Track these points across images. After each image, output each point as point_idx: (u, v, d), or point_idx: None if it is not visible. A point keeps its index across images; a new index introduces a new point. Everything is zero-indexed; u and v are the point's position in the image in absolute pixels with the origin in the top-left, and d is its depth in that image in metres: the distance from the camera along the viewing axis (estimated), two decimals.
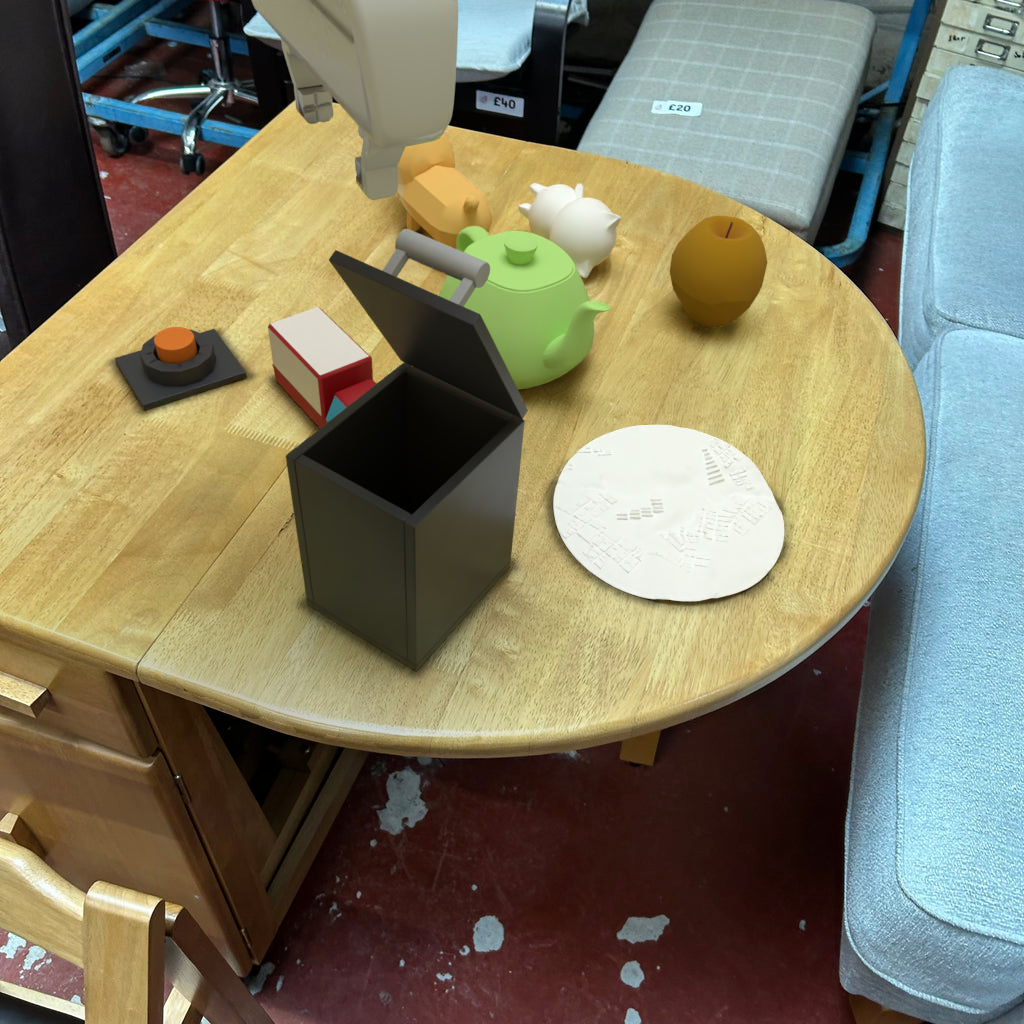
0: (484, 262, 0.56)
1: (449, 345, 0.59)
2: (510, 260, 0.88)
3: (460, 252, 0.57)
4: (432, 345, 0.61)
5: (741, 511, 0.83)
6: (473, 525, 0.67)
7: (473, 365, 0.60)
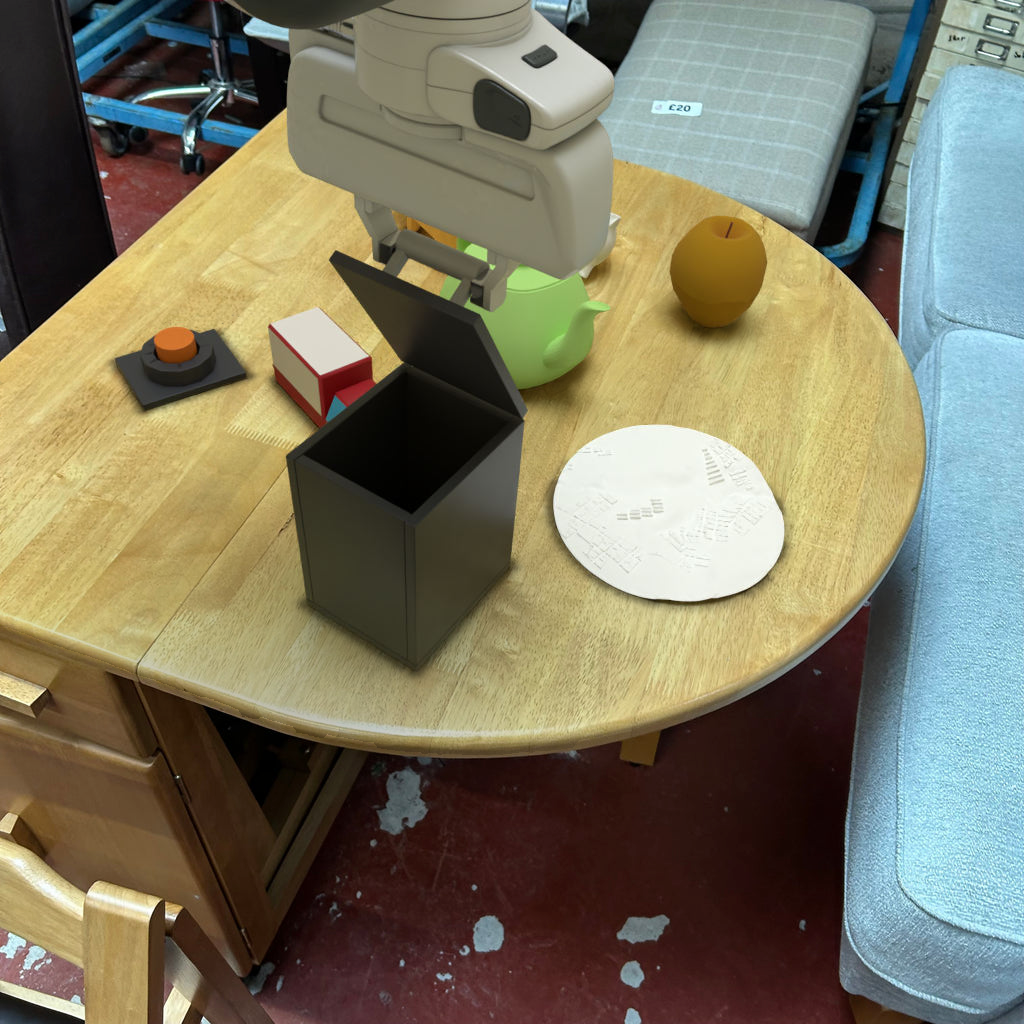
0: (484, 262, 0.56)
1: (449, 345, 0.59)
2: None
3: (460, 252, 0.57)
4: (432, 345, 0.61)
5: (741, 511, 0.83)
6: (473, 525, 0.67)
7: (473, 365, 0.60)
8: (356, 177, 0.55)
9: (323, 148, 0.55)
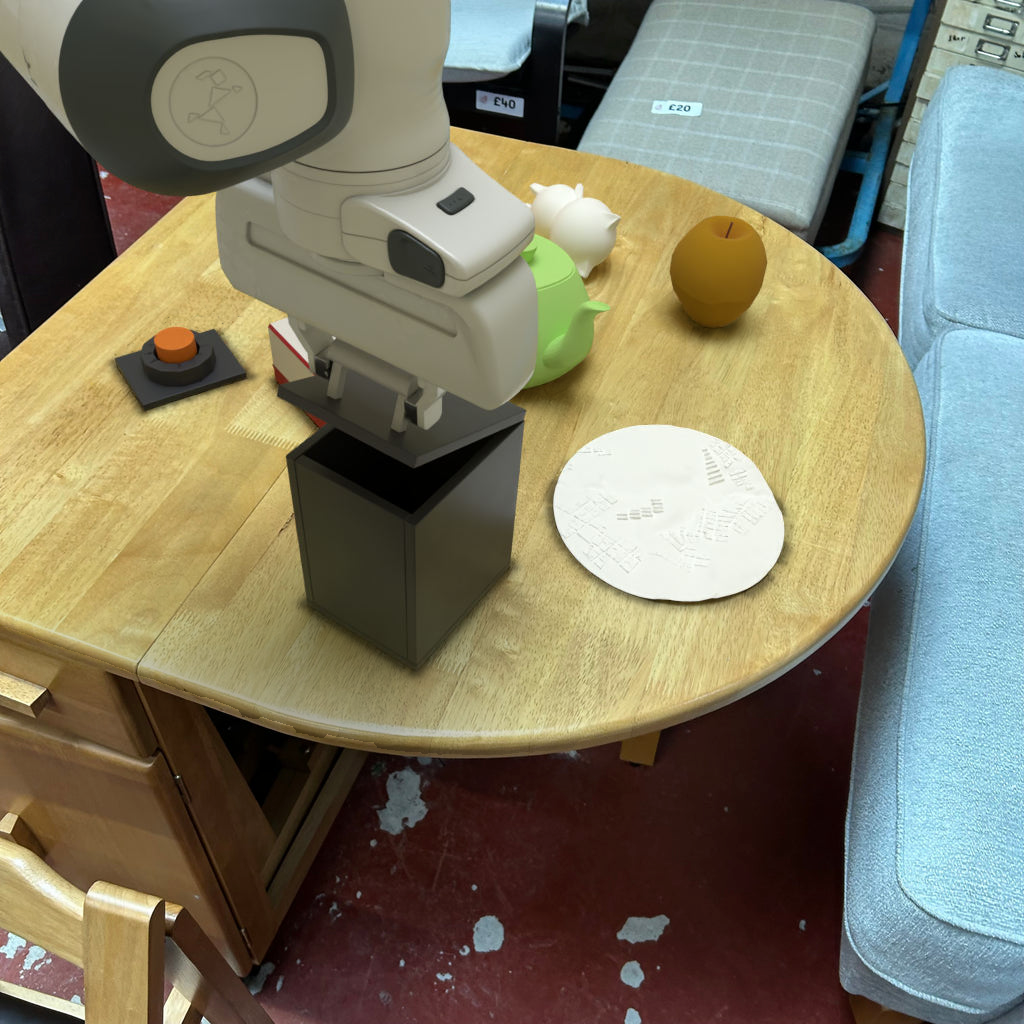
0: (411, 379, 0.55)
1: None
2: None
3: (387, 368, 0.56)
4: None
5: (741, 511, 0.83)
6: (473, 525, 0.67)
7: None
8: (286, 299, 0.54)
9: (253, 270, 0.54)
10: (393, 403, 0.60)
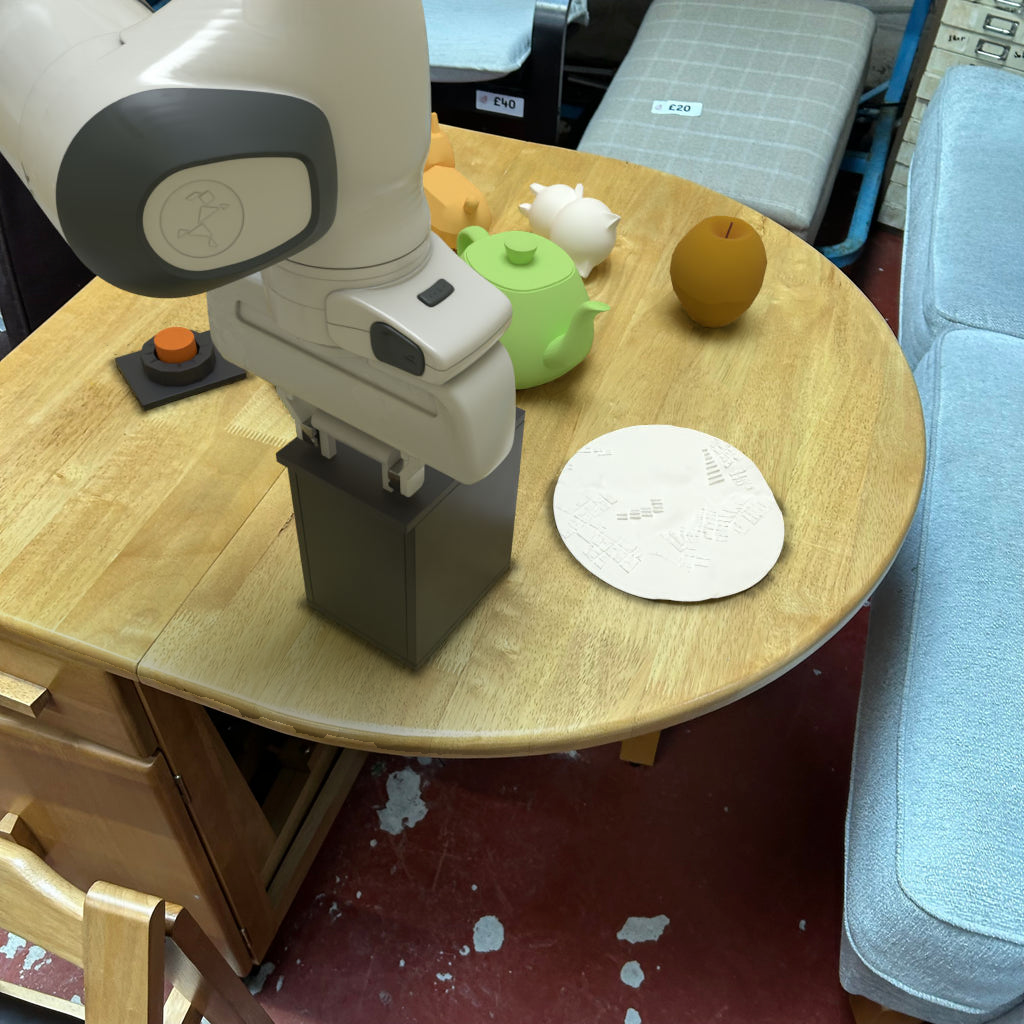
0: (388, 453, 0.57)
1: None
2: (510, 260, 0.88)
3: (365, 442, 0.57)
4: None
5: (741, 511, 0.83)
6: (473, 525, 0.67)
7: None
8: (274, 372, 0.56)
9: (242, 344, 0.56)
10: None
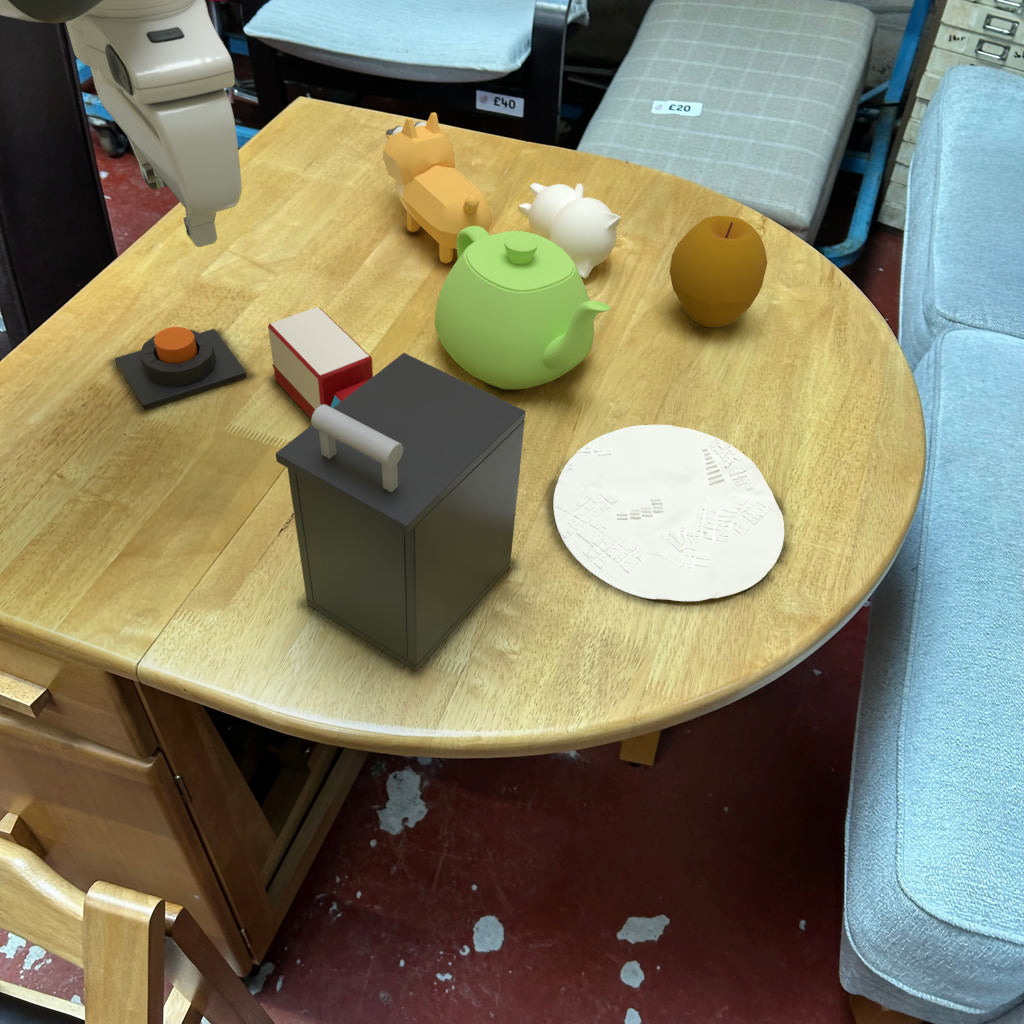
0: (388, 453, 0.57)
1: None
2: (510, 260, 0.88)
3: (365, 442, 0.57)
4: None
5: (741, 511, 0.83)
6: (473, 525, 0.67)
7: None
8: (116, 115, 0.71)
9: (103, 90, 0.71)
10: None
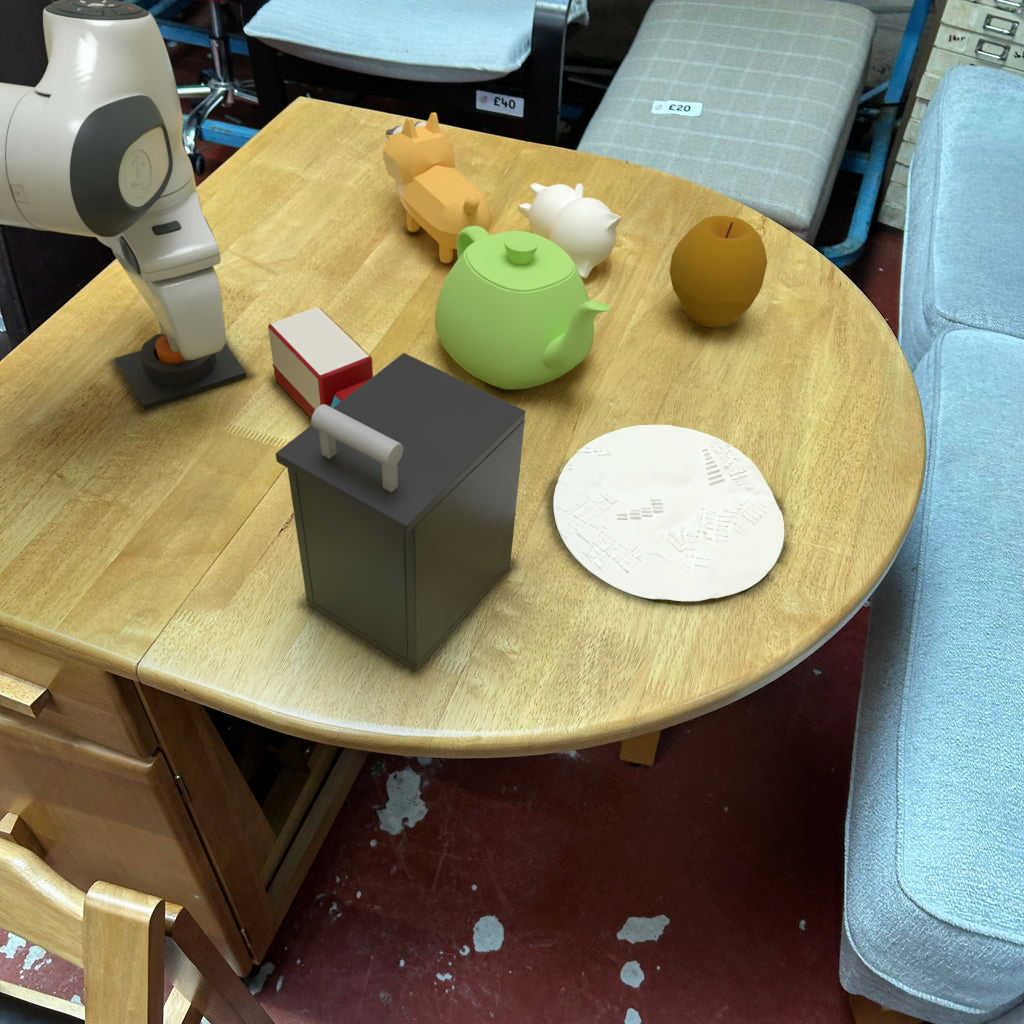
0: (388, 453, 0.57)
1: None
2: (510, 260, 0.88)
3: (365, 442, 0.57)
4: None
5: (741, 511, 0.83)
6: (473, 525, 0.67)
7: None
8: (126, 267, 0.87)
9: None
10: None
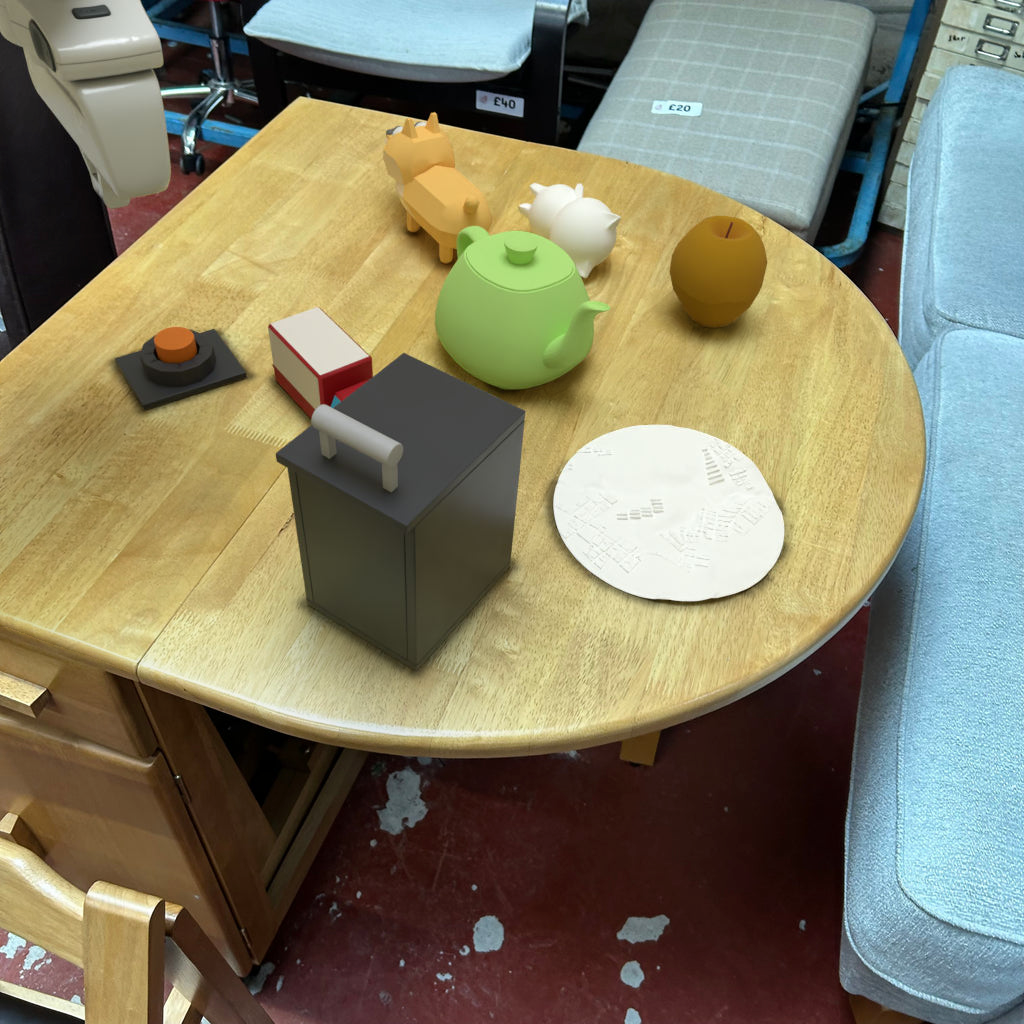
0: (388, 453, 0.57)
1: None
2: (510, 260, 0.88)
3: (365, 442, 0.57)
4: None
5: (741, 511, 0.83)
6: (473, 525, 0.67)
7: None
8: (48, 99, 0.69)
9: (35, 73, 0.70)
10: None
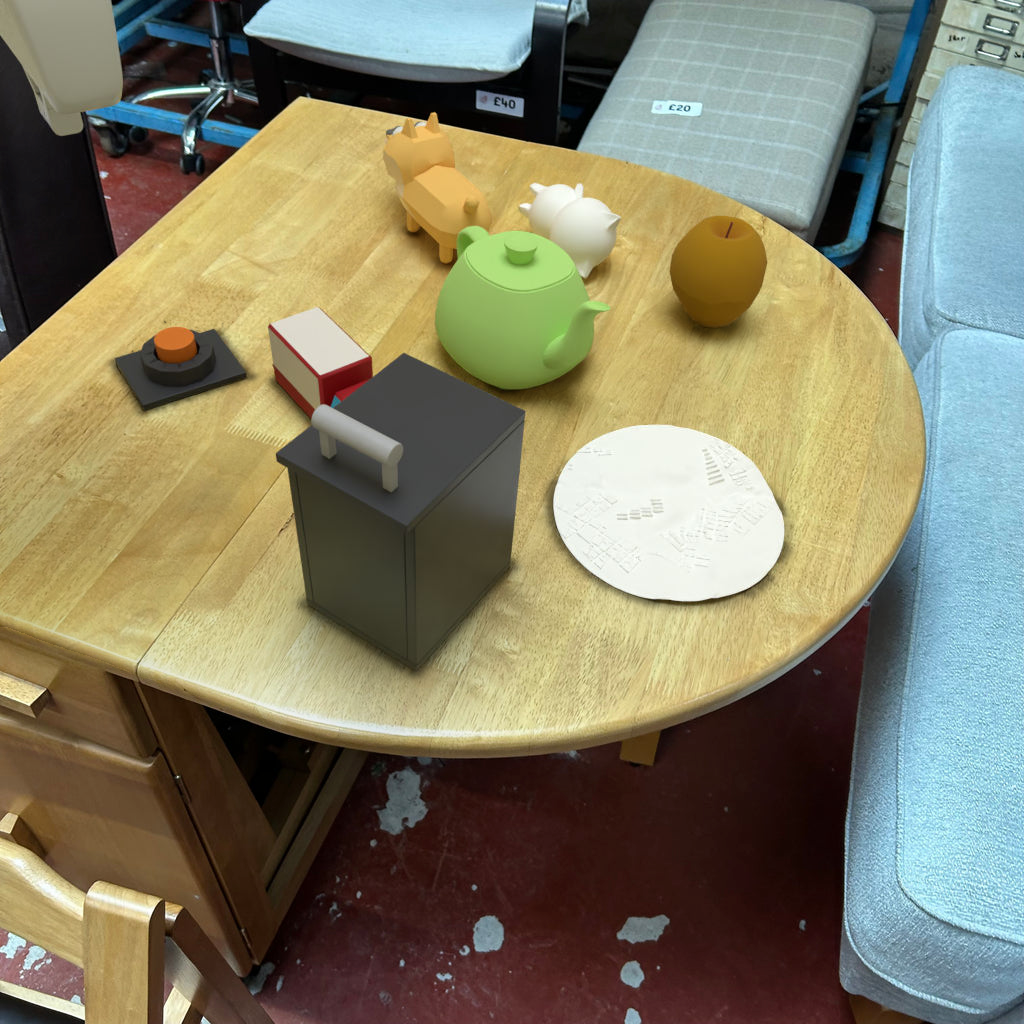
0: (388, 453, 0.57)
1: None
2: (510, 260, 0.88)
3: (365, 442, 0.57)
4: None
5: (741, 511, 0.83)
6: (473, 525, 0.67)
7: None
8: None
9: None
10: None
